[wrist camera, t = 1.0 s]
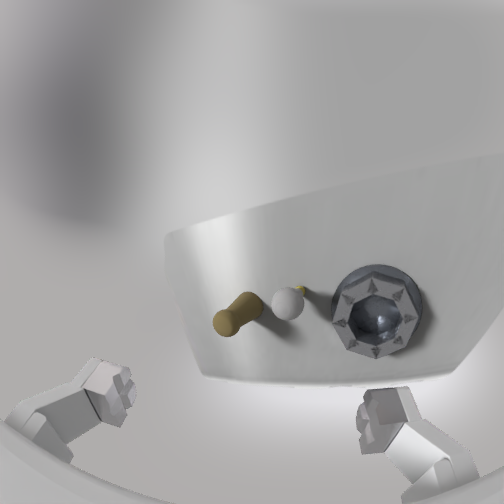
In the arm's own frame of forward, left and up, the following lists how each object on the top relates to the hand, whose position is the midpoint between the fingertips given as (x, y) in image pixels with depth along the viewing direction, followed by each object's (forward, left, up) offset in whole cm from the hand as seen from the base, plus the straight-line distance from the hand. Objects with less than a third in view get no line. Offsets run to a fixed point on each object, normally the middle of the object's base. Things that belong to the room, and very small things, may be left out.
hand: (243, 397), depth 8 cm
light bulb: (+17, +4, -42) cm, 46 cm away
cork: (+29, +2, -42) cm, 51 cm away
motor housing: (+6, +14, -42) cm, 45 cm away
